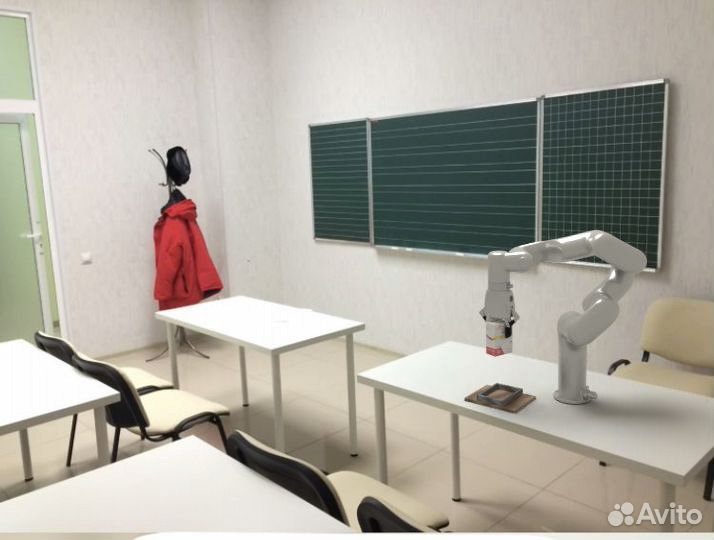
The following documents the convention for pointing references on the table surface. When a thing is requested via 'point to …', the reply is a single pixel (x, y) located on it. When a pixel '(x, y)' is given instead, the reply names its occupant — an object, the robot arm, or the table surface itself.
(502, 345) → the ink cartridge box
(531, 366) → the table surface
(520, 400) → the dock
